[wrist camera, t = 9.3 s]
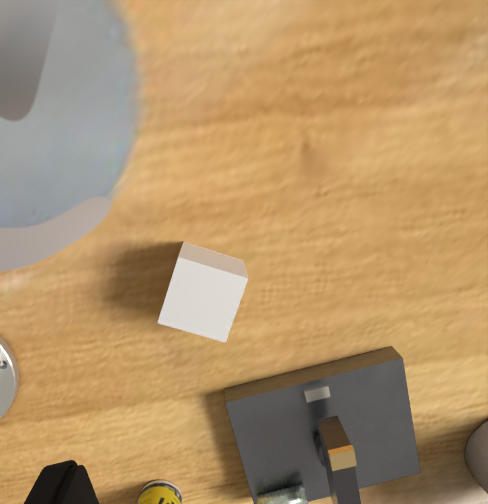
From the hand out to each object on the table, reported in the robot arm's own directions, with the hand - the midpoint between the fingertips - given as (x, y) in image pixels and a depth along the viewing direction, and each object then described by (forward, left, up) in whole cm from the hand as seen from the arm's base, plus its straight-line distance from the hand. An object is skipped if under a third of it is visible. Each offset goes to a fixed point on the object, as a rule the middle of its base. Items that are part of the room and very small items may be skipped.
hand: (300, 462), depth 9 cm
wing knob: (+4, -23, -27) cm, 36 cm away
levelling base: (+4, -23, -30) cm, 38 cm away
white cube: (-4, -4, -31) cm, 31 cm away
